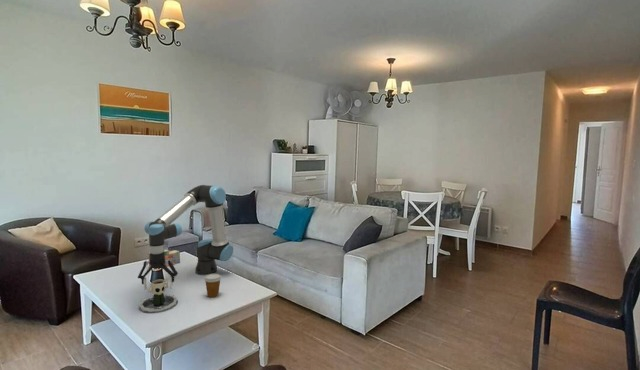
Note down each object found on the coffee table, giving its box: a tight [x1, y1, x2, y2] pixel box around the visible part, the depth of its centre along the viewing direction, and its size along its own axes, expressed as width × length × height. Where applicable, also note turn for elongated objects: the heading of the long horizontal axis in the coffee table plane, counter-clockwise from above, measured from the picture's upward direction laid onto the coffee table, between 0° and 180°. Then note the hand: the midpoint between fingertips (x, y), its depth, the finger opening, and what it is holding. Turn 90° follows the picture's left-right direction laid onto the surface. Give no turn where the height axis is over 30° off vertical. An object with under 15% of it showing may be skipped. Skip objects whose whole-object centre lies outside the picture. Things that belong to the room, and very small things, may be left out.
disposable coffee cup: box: [204, 273, 222, 298], centre depth 206 cm, size 10×10×12 cm
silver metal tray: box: [138, 293, 179, 314], centre depth 192 cm, size 20×20×2 cm
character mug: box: [147, 278, 169, 305], centre depth 192 cm, size 11×7×13 cm, turn 138°
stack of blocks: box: [148, 249, 181, 269], centre depth 255 cm, size 21×6×12 cm, turn 147°
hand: (158, 288), depth 191 cm, fingers open, 13 cm apart
